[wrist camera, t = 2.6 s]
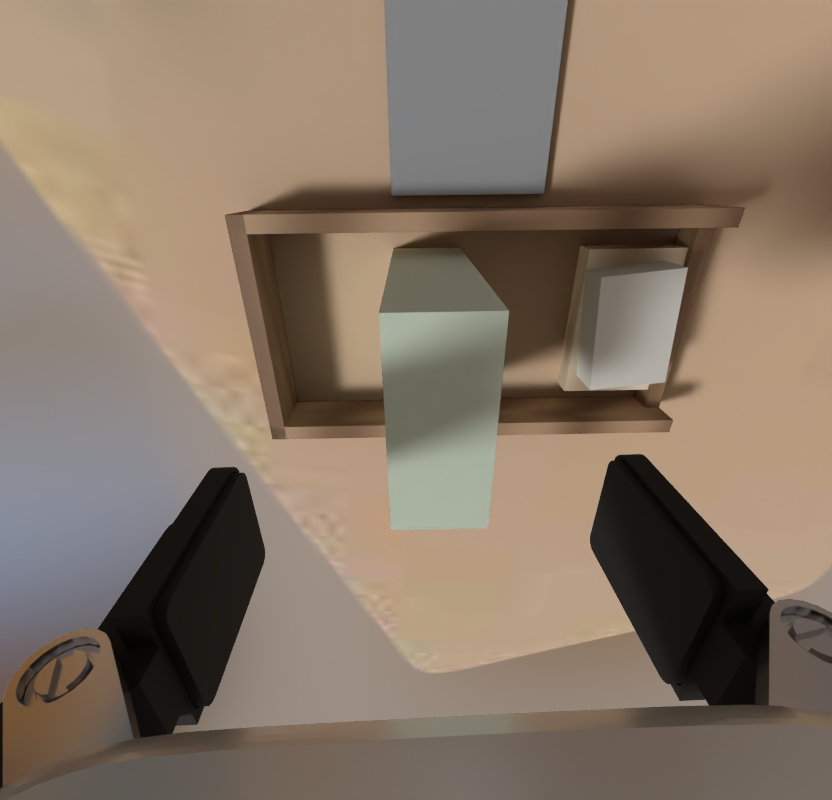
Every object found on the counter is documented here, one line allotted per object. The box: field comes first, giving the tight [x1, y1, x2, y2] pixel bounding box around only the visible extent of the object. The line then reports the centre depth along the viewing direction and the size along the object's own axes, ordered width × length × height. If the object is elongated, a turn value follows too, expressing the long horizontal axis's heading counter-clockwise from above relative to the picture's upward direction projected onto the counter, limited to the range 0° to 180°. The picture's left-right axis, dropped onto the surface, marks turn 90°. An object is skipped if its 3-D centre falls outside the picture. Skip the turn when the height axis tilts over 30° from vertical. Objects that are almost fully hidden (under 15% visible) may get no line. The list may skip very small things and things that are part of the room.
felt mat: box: [385, 0, 568, 196], centre depth 17 cm, size 8×11×1 cm
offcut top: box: [577, 260, 688, 390], centre depth 21 cm, size 4×6×2 cm, turn 6°
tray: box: [225, 205, 745, 439], centre depth 22 cm, size 23×12×3 cm, turn 91°
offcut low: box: [557, 244, 688, 391], centre depth 23 cm, size 5×8×2 cm, turn 1°
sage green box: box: [379, 247, 509, 530], centre depth 18 cm, size 4×8×12 cm, turn 1°
